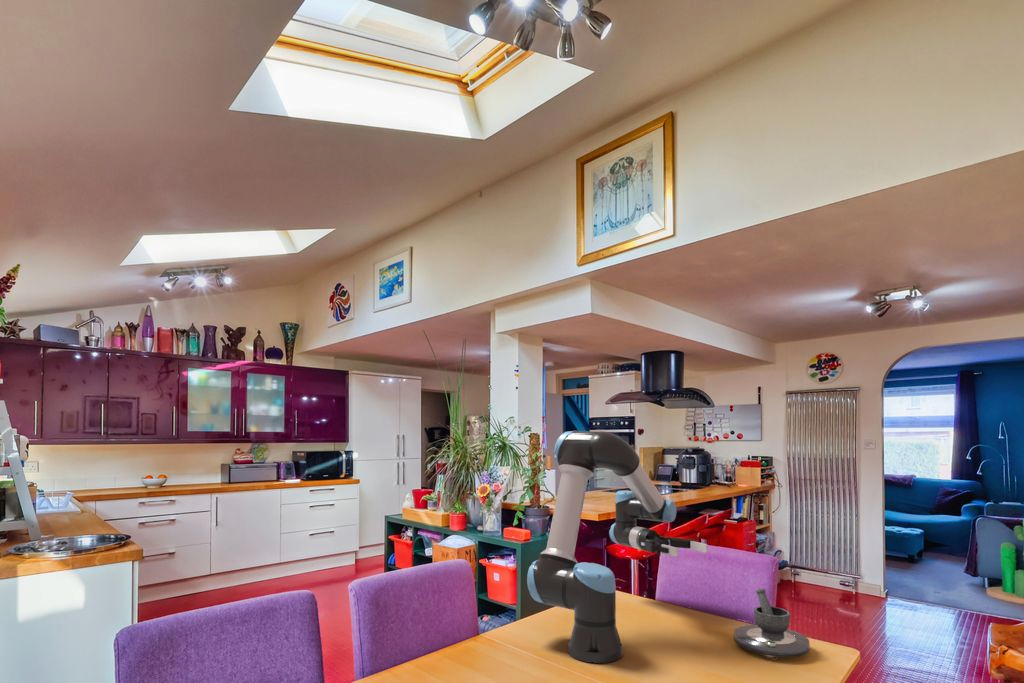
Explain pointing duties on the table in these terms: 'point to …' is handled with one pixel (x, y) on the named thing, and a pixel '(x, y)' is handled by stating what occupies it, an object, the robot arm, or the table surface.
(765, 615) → the mortar and pestle
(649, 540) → the robot arm
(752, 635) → the base
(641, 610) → the table surface
